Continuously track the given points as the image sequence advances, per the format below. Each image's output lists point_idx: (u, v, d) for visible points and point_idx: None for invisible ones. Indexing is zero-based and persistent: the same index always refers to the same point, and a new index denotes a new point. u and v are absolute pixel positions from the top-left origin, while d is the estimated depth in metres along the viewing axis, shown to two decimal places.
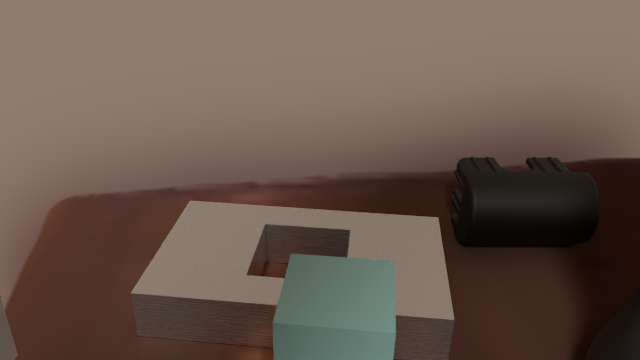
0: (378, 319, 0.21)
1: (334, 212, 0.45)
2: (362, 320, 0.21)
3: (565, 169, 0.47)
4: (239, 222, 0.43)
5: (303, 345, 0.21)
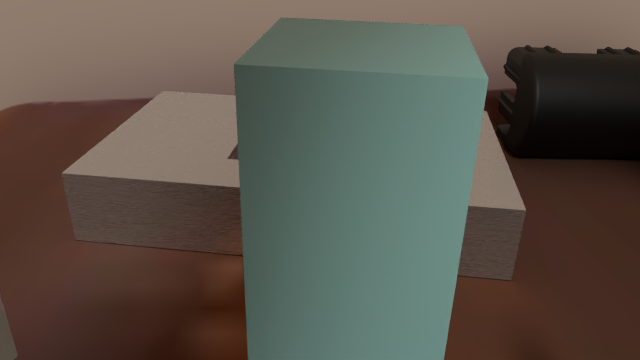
0: (448, 66, 0.10)
1: None
2: (417, 66, 0.10)
3: None
4: (224, 110, 0.33)
5: (295, 120, 0.11)
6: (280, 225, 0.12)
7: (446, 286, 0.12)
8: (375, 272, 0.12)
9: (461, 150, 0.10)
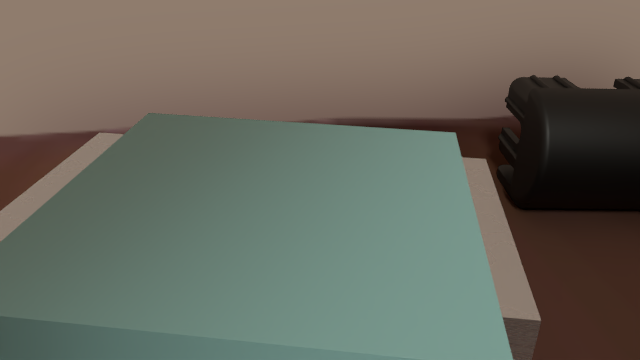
0: (419, 302, 0.05)
1: None
2: (349, 306, 0.05)
3: None
4: None
5: None
6: None
7: None
8: None
9: None
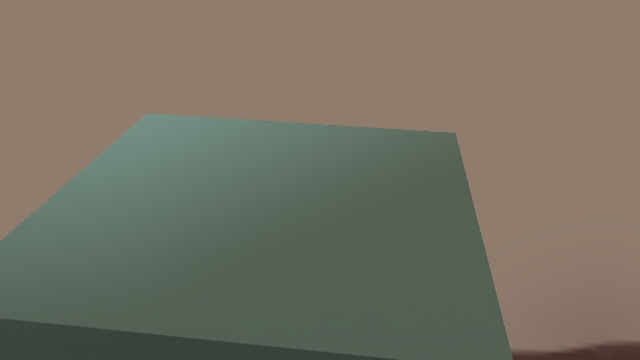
0: (418, 304, 0.05)
1: None
2: (349, 307, 0.05)
3: None
4: None
5: None
6: None
7: None
8: None
9: None
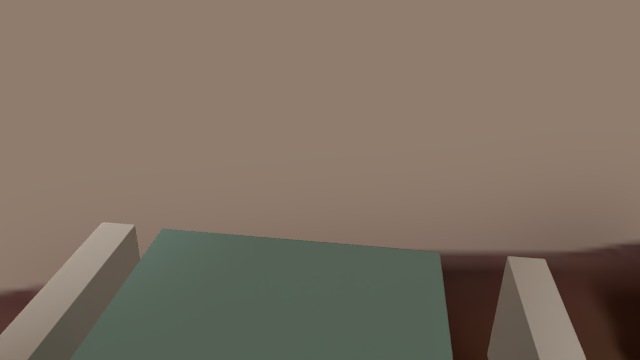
0: None
1: None
2: None
3: None
4: None
5: None
6: None
7: None
8: None
9: None
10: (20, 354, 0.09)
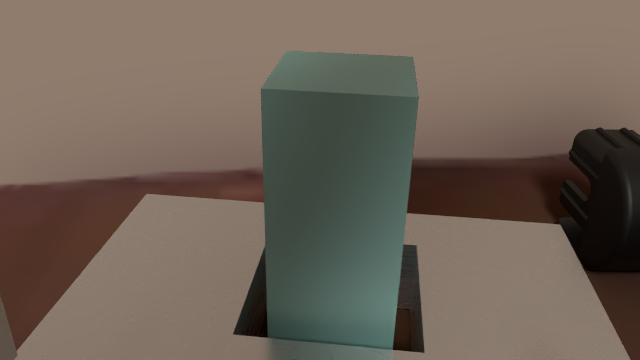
0: (395, 89, 0.16)
1: None
2: (376, 89, 0.16)
3: None
4: (225, 230, 0.25)
5: (299, 123, 0.17)
6: (289, 192, 0.18)
7: (398, 231, 0.18)
8: (352, 223, 0.18)
9: (404, 141, 0.16)
10: None
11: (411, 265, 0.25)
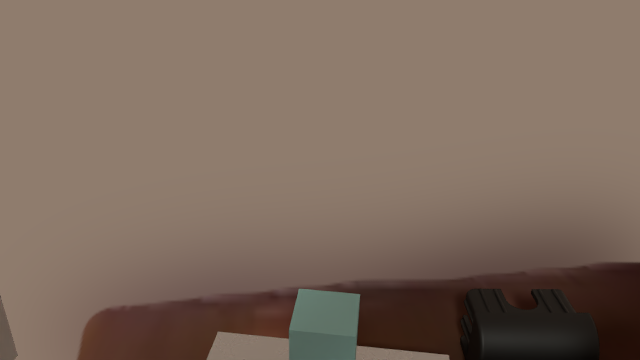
0: (347, 329, 0.38)
1: None
2: (338, 329, 0.38)
3: (567, 305, 0.50)
4: None
5: (305, 342, 0.38)
6: None
7: None
8: None
9: (351, 352, 0.38)
10: None
11: None
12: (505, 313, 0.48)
